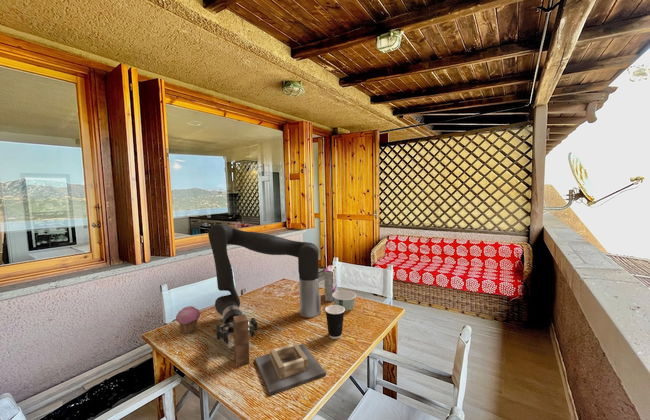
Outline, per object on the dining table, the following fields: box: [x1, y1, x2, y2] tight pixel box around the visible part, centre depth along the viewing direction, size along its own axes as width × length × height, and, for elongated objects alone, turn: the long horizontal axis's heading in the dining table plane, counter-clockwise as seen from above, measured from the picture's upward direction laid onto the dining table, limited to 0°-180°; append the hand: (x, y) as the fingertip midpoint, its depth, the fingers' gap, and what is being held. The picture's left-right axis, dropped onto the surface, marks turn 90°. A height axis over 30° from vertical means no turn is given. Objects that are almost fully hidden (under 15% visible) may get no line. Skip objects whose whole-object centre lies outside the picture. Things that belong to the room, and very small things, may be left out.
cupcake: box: [175, 305, 201, 334], centre depth 112 cm, size 9×9×10 cm
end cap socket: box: [254, 342, 327, 397], centre depth 88 cm, size 18×18×4 cm
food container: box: [332, 290, 357, 312], centre depth 134 cm, size 12×12×6 cm
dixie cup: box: [324, 304, 345, 340], centre depth 107 cm, size 8×8×11 cm
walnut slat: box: [233, 313, 250, 368], centre depth 92 cm, size 4×5×15 cm
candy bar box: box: [323, 264, 338, 303], centre depth 146 cm, size 11×5×16 cm, turn 168°
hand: (240, 337), depth 93 cm, fingers open, 8 cm apart
